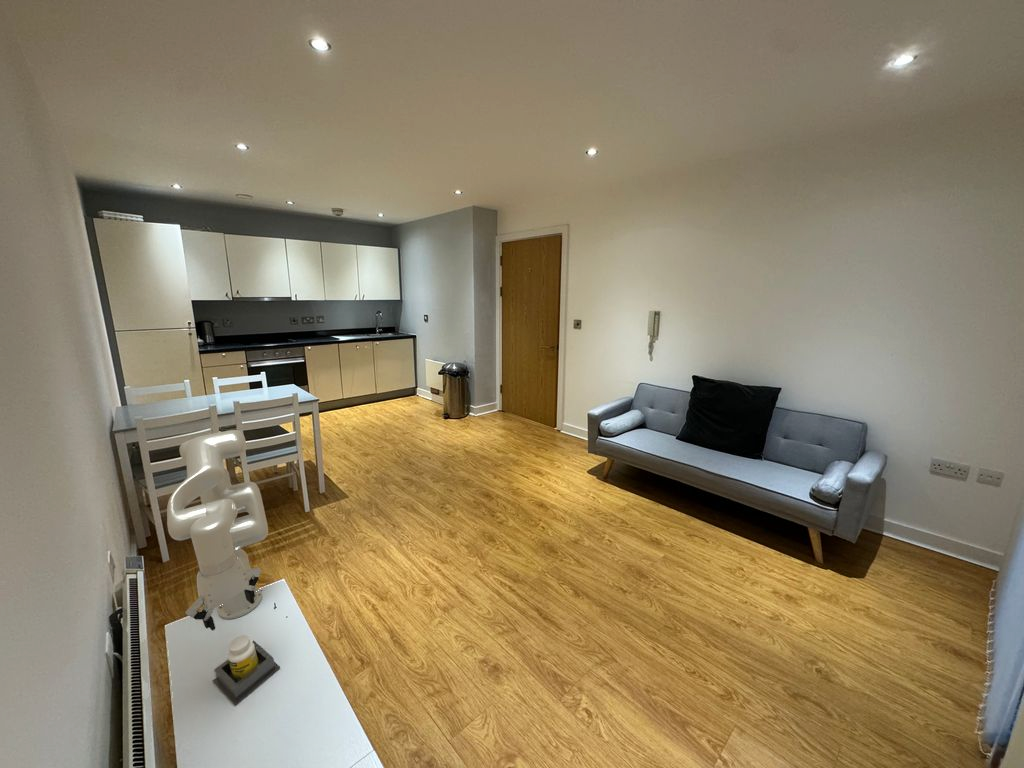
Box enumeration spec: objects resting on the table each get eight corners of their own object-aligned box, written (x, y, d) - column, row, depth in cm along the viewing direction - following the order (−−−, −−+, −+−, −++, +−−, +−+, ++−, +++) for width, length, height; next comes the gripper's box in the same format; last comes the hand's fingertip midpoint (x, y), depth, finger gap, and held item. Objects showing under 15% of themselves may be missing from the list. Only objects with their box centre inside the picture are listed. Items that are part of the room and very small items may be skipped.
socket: (212, 682, 112) (209, 670, 110) (257, 648, 121) (255, 637, 120) (235, 706, 106) (231, 693, 104) (280, 668, 116) (277, 656, 114)
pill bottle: (229, 685, 110) (220, 655, 107) (239, 664, 116) (231, 634, 113) (254, 681, 111) (246, 651, 108) (263, 660, 117) (256, 631, 114)
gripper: (246, 537, 111) (257, 586, 116) (170, 577, 97) (187, 631, 102) (261, 547, 108) (272, 597, 113) (184, 590, 93) (201, 646, 99)
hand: (231, 613), depth 108 cm, fingers open, 9 cm apart
